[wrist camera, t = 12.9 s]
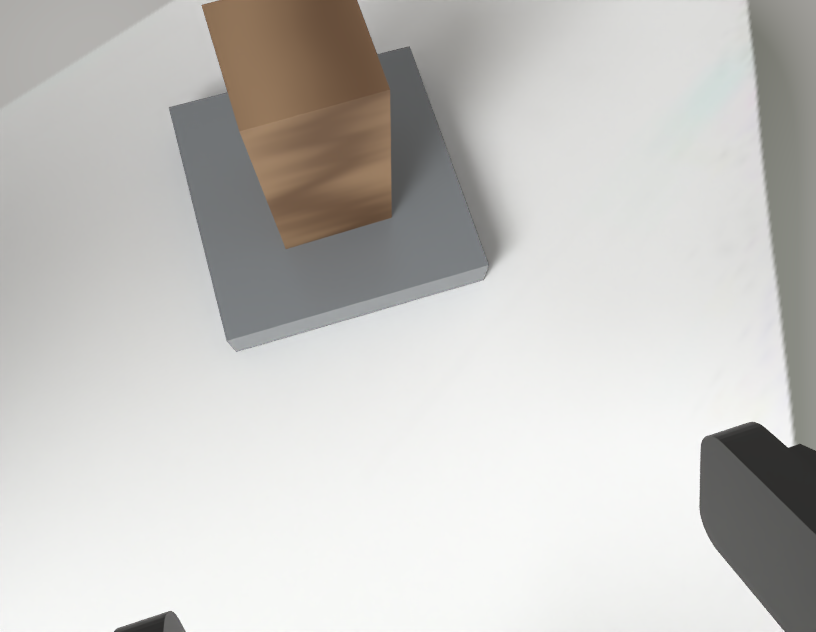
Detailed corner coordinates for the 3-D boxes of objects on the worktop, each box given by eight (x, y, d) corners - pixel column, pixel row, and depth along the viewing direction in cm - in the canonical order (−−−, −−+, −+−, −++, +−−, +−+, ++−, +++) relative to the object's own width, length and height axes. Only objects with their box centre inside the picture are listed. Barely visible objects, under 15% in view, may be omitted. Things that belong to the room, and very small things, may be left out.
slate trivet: (236, 351, 33) (226, 341, 31) (180, 129, 36) (169, 107, 34) (483, 279, 34) (488, 264, 32) (408, 71, 37) (409, 46, 35)
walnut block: (285, 249, 32) (239, 131, 23) (257, 154, 34) (201, 4, 24) (391, 217, 33) (390, 89, 23) (359, 125, 34) (344, -33, 24)
